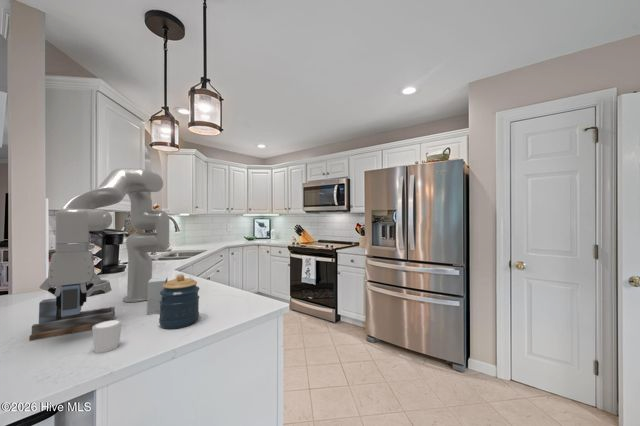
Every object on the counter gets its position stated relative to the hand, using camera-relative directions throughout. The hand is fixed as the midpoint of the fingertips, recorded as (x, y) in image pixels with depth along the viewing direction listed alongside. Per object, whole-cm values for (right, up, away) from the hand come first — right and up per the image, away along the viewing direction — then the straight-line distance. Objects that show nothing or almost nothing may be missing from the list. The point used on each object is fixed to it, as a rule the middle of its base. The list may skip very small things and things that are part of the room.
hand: (71, 305), depth 80 cm
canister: (+26, -11, +14) cm, 32 cm away
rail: (-7, -11, +10) cm, 16 cm away
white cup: (+15, -11, -5) cm, 19 cm away
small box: (+10, -12, +26) cm, 30 cm away
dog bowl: (-41, -13, +51) cm, 67 cm away
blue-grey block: (0, -2, 0) cm, 2 cm away
